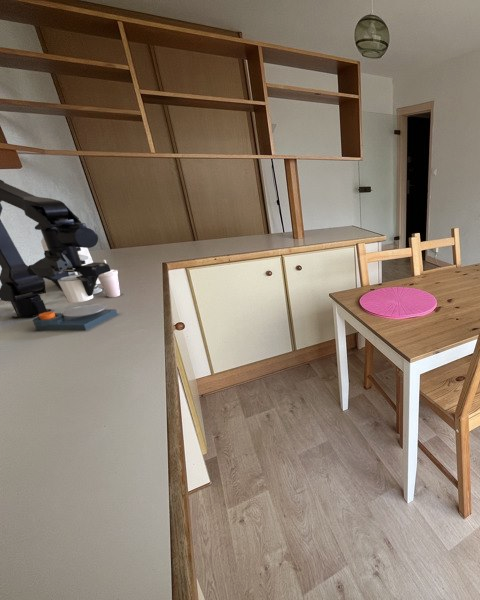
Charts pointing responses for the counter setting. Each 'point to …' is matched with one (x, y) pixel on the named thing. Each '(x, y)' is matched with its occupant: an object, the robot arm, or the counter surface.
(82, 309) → the weighing pan
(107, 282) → the smoothie
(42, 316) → the tare button
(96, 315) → the scale
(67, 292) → the white short tapered cylinder
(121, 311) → the counter surface
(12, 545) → the counter surface
